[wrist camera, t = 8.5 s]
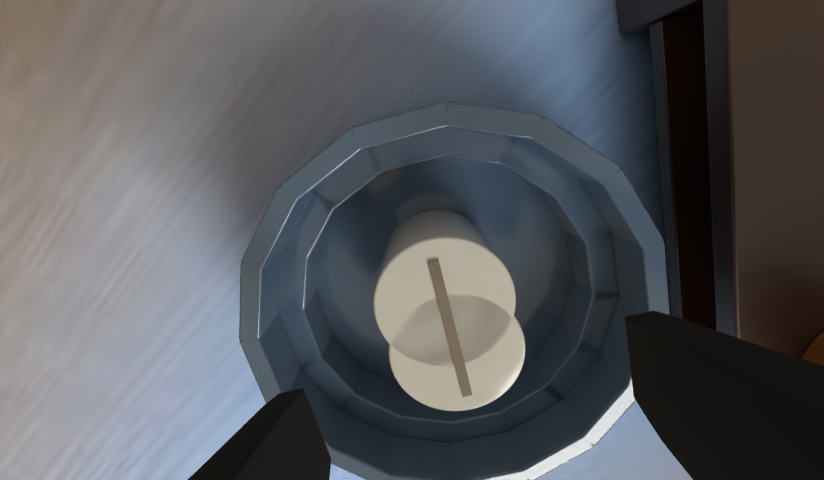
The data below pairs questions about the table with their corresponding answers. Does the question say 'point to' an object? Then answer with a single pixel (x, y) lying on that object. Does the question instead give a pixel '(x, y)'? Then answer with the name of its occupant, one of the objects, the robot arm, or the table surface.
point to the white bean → (448, 313)
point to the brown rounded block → (815, 350)
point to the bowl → (517, 248)
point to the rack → (741, 162)
